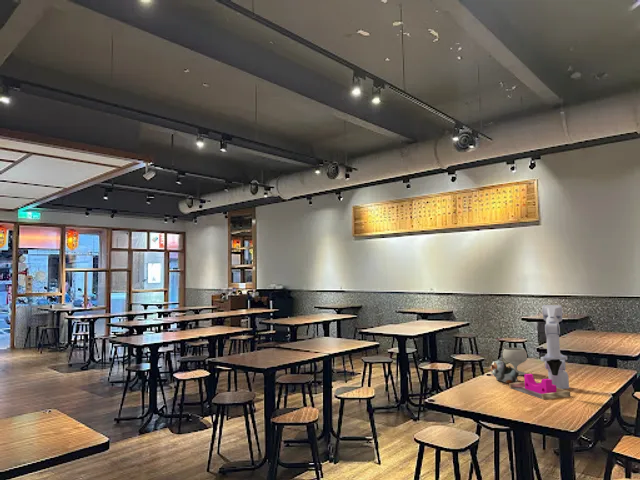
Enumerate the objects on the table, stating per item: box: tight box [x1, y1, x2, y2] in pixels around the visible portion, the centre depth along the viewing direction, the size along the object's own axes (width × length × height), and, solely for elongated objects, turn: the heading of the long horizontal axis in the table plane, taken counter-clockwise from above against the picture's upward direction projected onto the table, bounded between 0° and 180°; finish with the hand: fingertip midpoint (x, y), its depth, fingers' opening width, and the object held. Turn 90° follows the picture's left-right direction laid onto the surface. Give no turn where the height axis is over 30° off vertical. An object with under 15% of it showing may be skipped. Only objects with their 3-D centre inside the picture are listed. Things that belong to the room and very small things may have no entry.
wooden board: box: [508, 380, 571, 400], centre depth 231 cm, size 16×24×2 cm
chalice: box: [502, 347, 528, 376], centre depth 275 cm, size 14×14×15 cm
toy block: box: [523, 373, 557, 394], centre depth 231 cm, size 15×6×8 cm, turn 16°
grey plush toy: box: [490, 359, 520, 385], centre depth 256 cm, size 15×12×14 cm
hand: (554, 375), depth 222 cm, fingers closed
